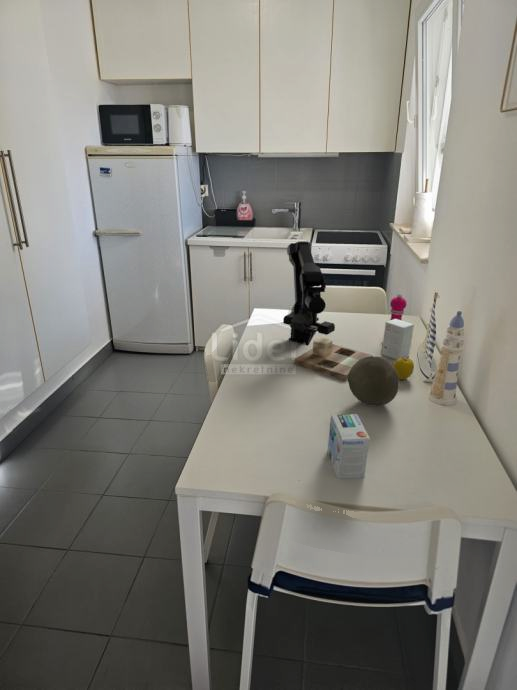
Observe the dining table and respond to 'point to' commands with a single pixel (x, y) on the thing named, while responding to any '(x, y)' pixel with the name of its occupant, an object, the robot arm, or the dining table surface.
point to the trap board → (331, 361)
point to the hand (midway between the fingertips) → (307, 345)
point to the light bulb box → (348, 446)
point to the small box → (397, 339)
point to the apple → (404, 367)
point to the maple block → (322, 347)
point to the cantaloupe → (373, 381)
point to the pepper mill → (397, 307)
